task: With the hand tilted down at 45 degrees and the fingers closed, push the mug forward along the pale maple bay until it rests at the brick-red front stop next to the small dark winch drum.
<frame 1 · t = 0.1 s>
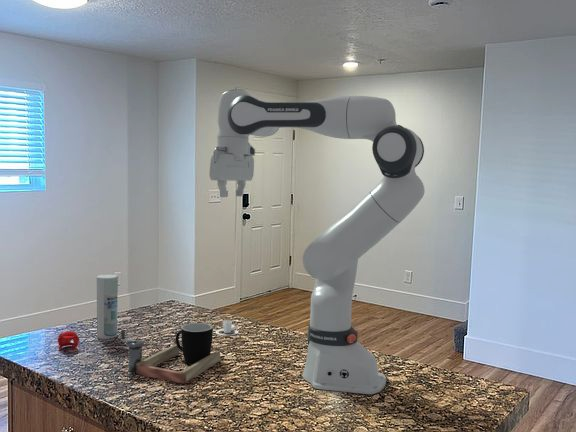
hand: (231, 196, 156), 48 cm above the table, tool pointing down, fingers open, 8 cm apart
cap: (68, 349, 165), on the table
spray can: (107, 336, 178), on the table
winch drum: (135, 369, 149), on the table
mug: (192, 360, 158), on the table
teacup and saucer: (235, 333, 188), on the table
bay: (179, 367, 152), on the table
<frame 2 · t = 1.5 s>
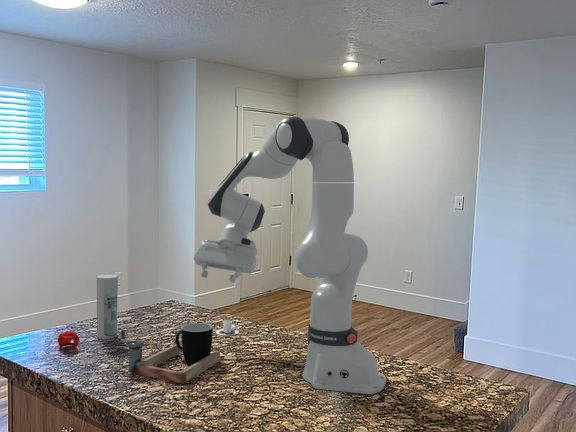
hand: (217, 279, 171), 21 cm above the table, tool tilted 45°, fingers open, 8 cm apart
nothing on the table moved.
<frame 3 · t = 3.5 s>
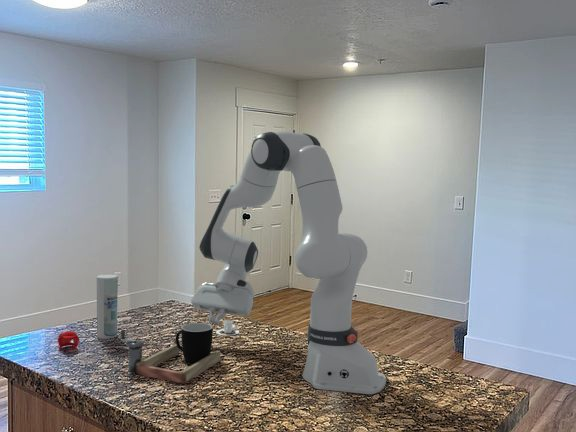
hand: (213, 322, 169), 8 cm above the table, tool tilted 45°, fingers closed
nothing on the table moved.
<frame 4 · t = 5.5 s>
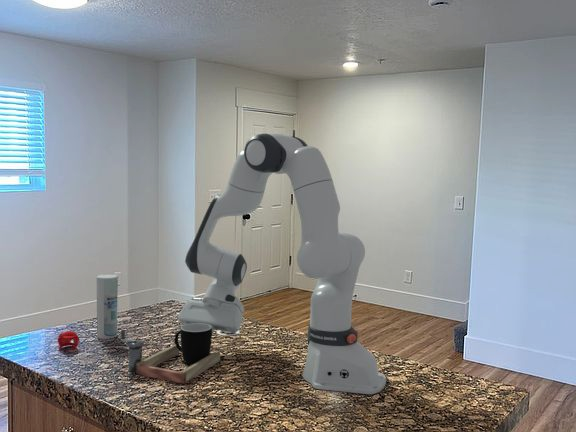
hand: (200, 339, 162), 5 cm above the table, tool tilted 45°, fingers closed
mug: (191, 361, 158), on the table, touching gripper
everything else where it was.
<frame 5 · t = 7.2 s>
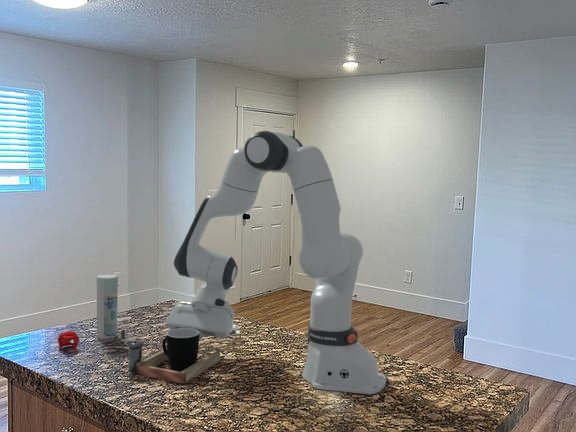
hand: (188, 345, 156), 5 cm above the table, tool tilted 45°, fingers closed
mug: (178, 367, 152), on the table, touching gripper
everything else where it was.
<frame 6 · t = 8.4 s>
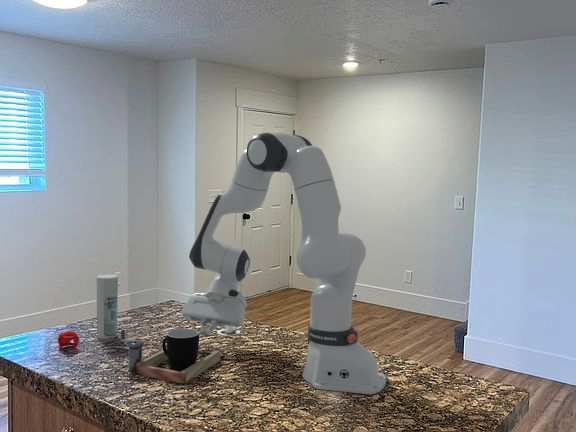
hand: (204, 334, 164), 6 cm above the table, tool tilted 45°, fingers closed
mug: (178, 367, 152), on the table
everything else where it was.
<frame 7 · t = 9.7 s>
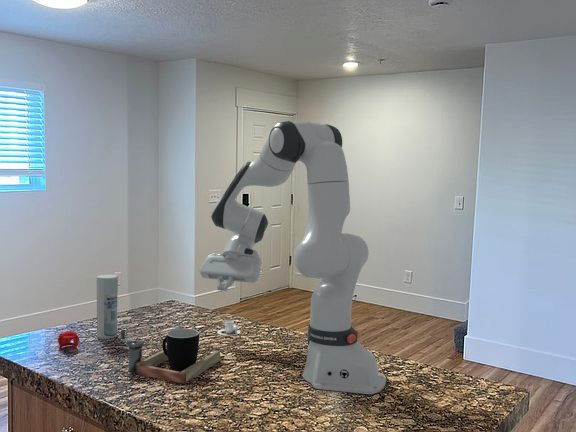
hand: (221, 289, 172), 18 cm above the table, tool tilted 45°, fingers closed
nothing on the table moved.
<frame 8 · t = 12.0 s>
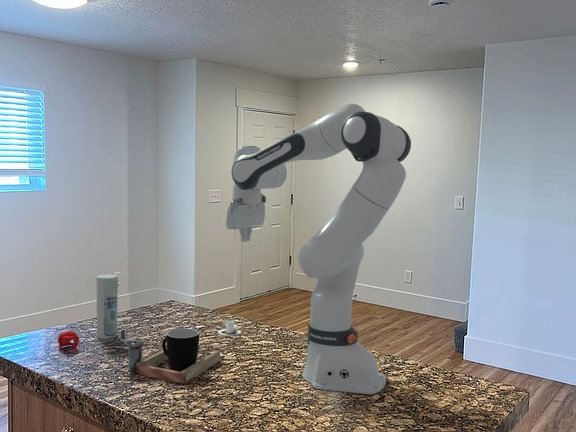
hand: (245, 241, 173), 33 cm above the table, tool pointing down, fingers closed
nothing on the table moved.
at the end: mug inside the target area (2.4 cm from its centre), on the table; mug tilted 0°; mug moved 6.6 cm from its start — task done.
